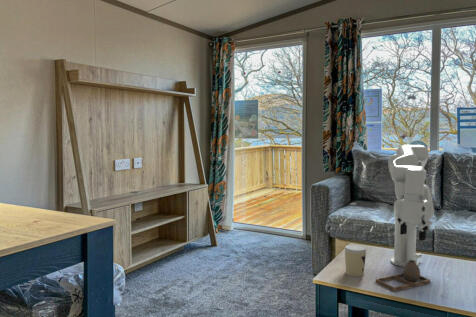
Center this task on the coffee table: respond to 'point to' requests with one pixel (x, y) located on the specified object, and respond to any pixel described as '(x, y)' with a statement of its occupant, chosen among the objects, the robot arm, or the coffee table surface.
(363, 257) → the coffee cup
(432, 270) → the coffee table surface
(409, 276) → the vase
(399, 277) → the frame
